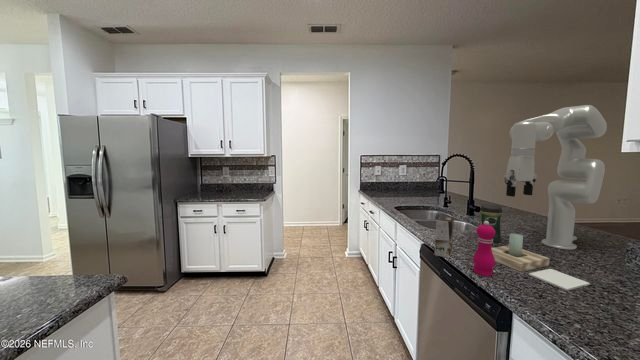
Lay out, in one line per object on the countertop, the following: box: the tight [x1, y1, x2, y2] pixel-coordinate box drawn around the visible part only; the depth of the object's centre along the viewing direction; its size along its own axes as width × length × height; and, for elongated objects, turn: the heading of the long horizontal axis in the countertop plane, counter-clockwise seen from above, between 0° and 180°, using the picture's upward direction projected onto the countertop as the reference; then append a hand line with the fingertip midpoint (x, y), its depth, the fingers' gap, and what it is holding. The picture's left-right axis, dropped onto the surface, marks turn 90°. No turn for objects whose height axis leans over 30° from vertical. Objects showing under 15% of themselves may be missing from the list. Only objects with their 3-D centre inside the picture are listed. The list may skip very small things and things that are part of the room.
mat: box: [528, 268, 591, 292], centre depth 96 cm, size 12×12×1 cm
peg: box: [508, 233, 524, 258], centre depth 112 cm, size 4×4×11 cm
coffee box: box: [434, 215, 455, 259], centre depth 120 cm, size 9×6×16 cm
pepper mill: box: [472, 221, 496, 277], centre depth 101 cm, size 7×7×20 cm
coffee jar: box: [479, 203, 503, 243], centre depth 137 cm, size 10×8×19 cm
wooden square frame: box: [491, 244, 550, 272], centre depth 112 cm, size 16×16×3 cm
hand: (519, 195), depth 109 cm, fingers open, 9 cm apart
